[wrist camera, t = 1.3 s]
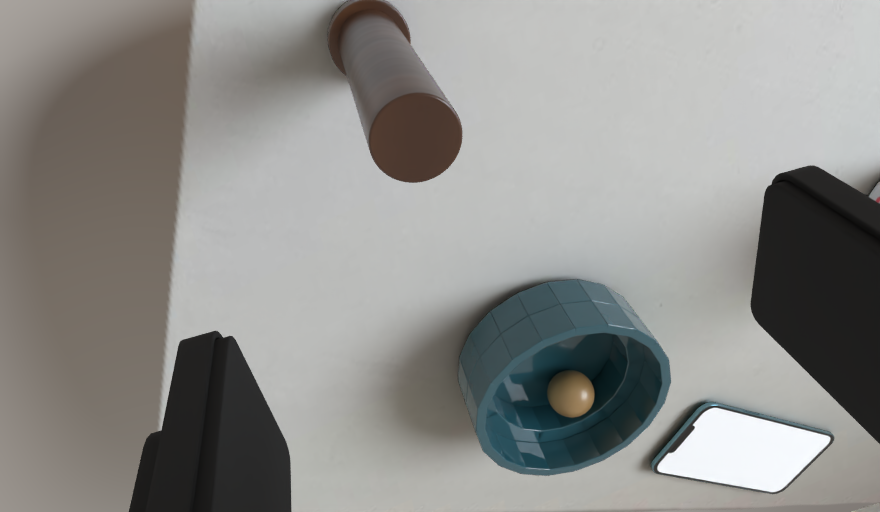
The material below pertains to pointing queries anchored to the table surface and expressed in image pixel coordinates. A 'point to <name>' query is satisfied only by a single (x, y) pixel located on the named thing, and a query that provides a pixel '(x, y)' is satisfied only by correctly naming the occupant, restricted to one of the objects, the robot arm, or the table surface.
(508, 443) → the bowl
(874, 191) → the pill bottle
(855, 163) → the table surface
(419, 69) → the brown flanged cylinder
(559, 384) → the bead
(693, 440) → the smartphone
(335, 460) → the table surface
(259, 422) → the robot arm
